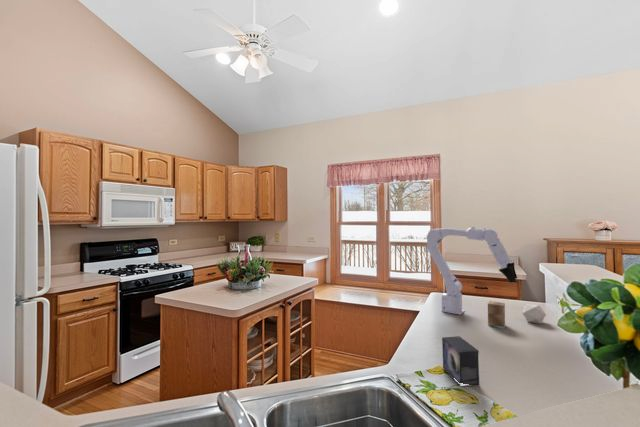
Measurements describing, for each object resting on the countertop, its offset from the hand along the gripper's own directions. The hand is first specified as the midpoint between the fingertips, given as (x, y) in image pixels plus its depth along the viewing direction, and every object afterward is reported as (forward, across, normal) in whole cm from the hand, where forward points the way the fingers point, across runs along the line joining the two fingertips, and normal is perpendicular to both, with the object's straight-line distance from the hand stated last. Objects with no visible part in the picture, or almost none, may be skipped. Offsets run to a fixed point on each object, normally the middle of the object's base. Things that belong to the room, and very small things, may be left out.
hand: (514, 280), depth 137 cm
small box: (+13, -65, +16) cm, 68 cm away
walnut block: (+15, -10, +14) cm, 23 cm away
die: (+21, +5, +2) cm, 21 cm away
